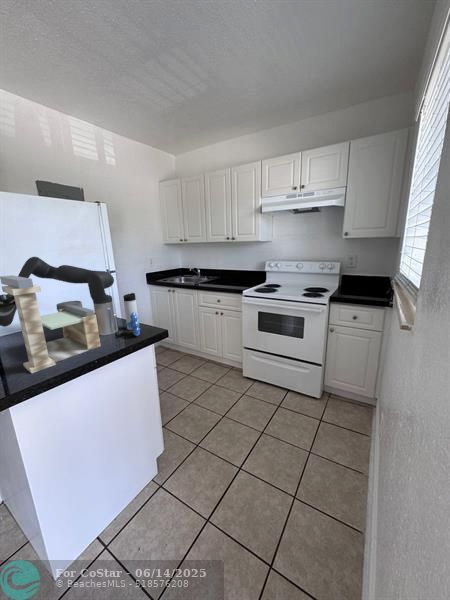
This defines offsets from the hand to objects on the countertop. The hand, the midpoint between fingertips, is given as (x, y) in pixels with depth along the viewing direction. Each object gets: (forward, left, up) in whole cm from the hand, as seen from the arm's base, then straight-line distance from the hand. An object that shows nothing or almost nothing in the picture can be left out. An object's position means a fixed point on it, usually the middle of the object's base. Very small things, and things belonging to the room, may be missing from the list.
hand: (8, 291), depth 102 cm
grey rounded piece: (-28, -16, -29) cm, 43 cm away
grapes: (-41, +25, -29) cm, 56 cm away
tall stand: (0, +20, -28) cm, 35 cm away
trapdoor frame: (-14, +11, -28) cm, 33 cm away
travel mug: (-47, +15, -29) cm, 57 cm away
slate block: (0, +15, +4) cm, 15 cm away
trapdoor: (-15, +11, -15) cm, 23 cm away
